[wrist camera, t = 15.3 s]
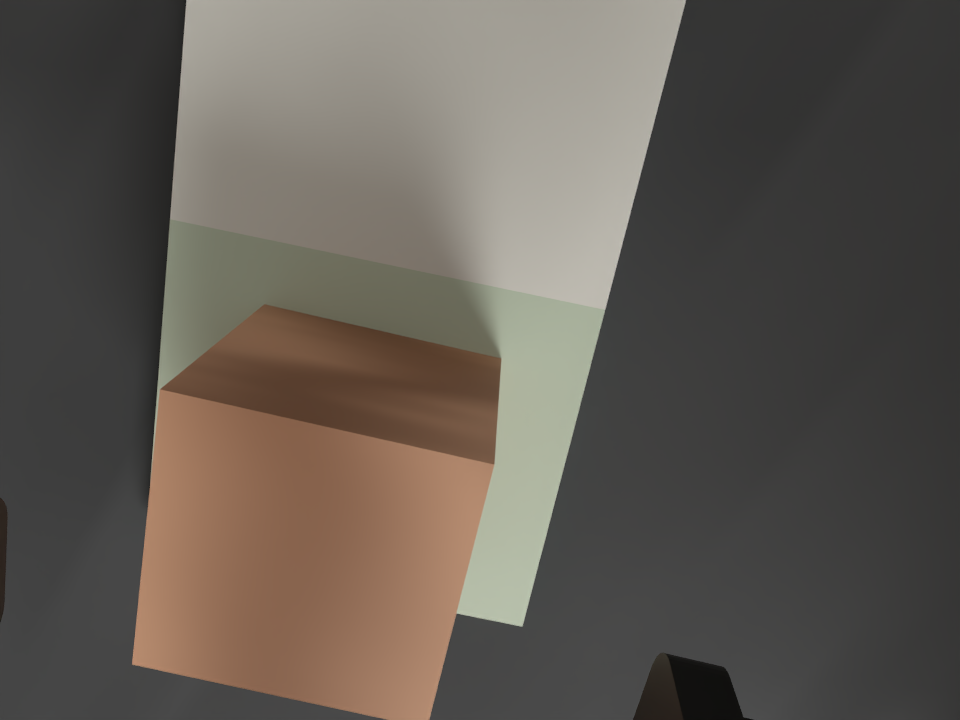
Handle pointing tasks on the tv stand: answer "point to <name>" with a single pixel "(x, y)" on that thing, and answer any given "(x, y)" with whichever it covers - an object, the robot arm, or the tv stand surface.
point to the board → (422, 201)
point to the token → (316, 512)
